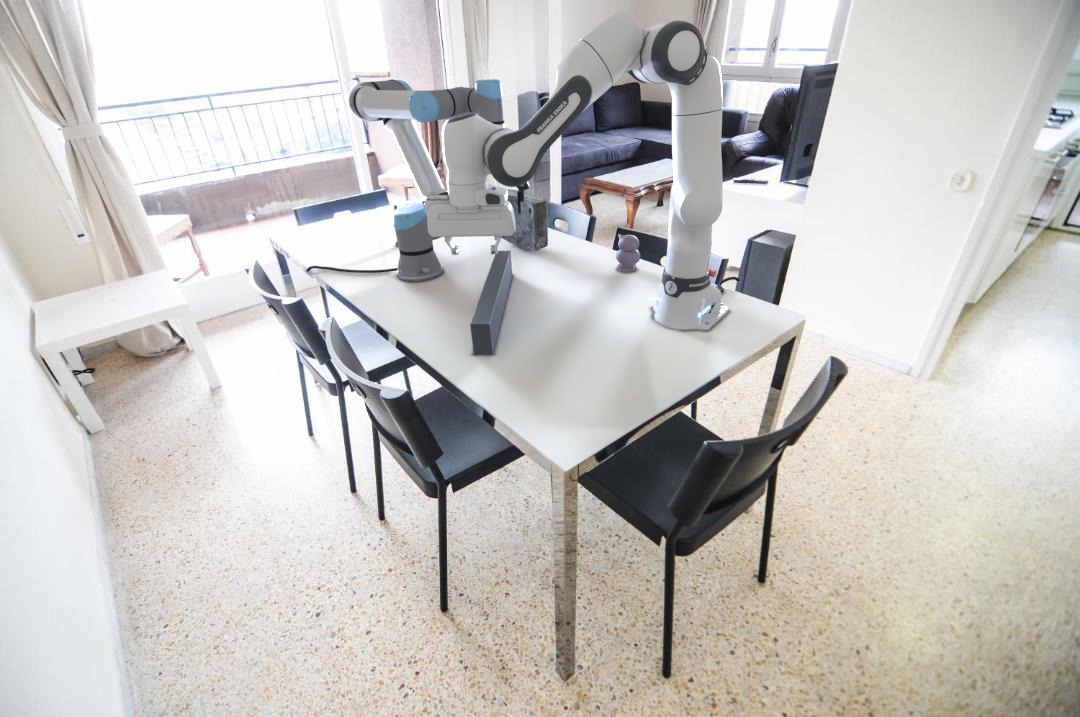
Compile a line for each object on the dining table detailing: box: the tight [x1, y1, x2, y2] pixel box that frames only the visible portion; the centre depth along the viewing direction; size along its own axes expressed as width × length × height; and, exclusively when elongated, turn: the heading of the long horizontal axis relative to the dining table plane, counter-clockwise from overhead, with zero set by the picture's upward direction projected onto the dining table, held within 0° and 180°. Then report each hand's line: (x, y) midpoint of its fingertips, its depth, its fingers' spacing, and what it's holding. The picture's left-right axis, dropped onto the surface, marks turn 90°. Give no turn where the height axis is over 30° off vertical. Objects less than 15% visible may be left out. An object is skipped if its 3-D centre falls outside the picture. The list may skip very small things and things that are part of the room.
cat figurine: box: [615, 233, 641, 273], centre depth 170 cm, size 8×8×12 cm
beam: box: [469, 250, 513, 356], centre depth 147 cm, size 53×5×9 cm, turn 177°
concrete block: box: [501, 188, 549, 252], centre depth 191 cm, size 27×9×20 cm, turn 36°
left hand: (498, 212), depth 156 cm, fingers open, 13 cm apart
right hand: (474, 253), depth 118 cm, fingers open, 8 cm apart
